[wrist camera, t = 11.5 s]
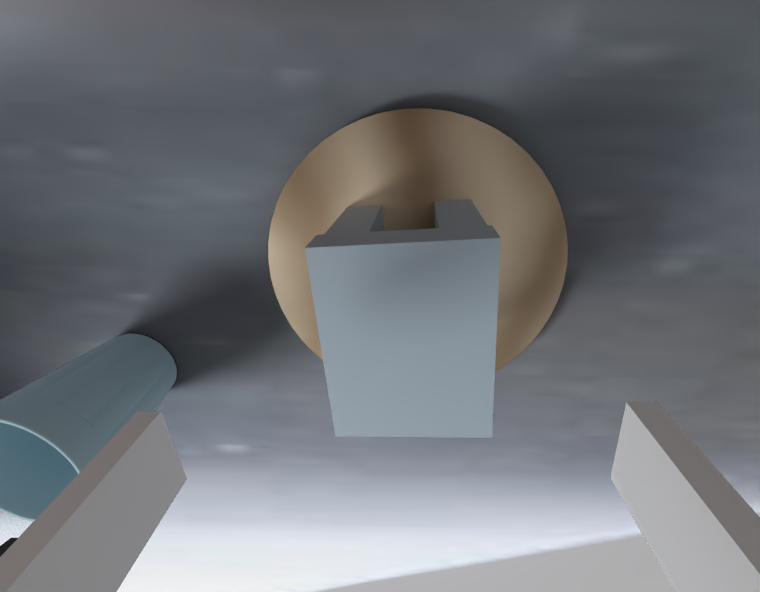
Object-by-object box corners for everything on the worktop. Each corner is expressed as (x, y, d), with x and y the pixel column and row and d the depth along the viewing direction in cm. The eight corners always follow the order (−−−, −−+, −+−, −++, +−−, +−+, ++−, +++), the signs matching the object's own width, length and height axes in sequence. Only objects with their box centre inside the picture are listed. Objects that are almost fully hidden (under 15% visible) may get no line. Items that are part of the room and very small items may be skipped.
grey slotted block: (362, 337, 26) (335, 436, 18) (346, 201, 23) (304, 247, 14) (469, 335, 25) (491, 437, 17) (470, 193, 22) (500, 237, 14)
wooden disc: (298, 384, 30) (294, 392, 29) (246, 123, 22) (239, 124, 21) (547, 382, 27) (552, 391, 26) (580, 93, 20) (587, 92, 19)
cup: (162, 309, 28) (29, 407, 19) (208, 394, 31) (114, 517, 21) (76, 329, 30) (-87, 430, 20) (128, 409, 32) (7, 529, 23)
